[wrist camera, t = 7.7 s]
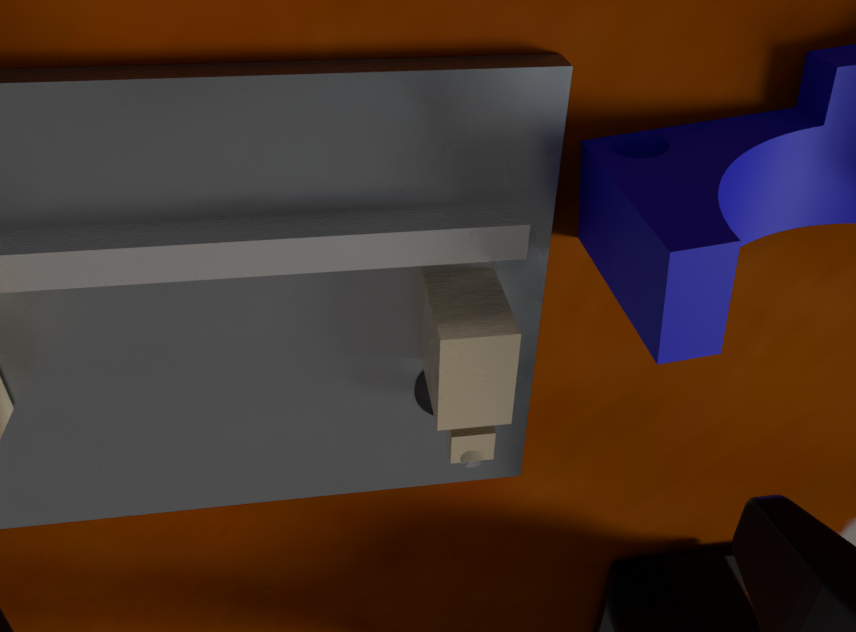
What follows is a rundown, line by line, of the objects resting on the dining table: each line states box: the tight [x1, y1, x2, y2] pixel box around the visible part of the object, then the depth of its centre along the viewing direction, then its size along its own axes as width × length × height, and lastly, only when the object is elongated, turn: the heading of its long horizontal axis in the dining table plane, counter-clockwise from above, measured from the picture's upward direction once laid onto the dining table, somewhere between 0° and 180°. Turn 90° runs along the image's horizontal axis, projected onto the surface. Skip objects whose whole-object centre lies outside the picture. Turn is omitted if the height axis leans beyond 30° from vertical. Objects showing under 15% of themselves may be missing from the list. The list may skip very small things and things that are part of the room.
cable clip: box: [578, 44, 856, 364], centre depth 18 cm, size 12×4×6 cm, turn 96°
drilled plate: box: [0, 54, 573, 529], centre depth 19 cm, size 14×20×4 cm
